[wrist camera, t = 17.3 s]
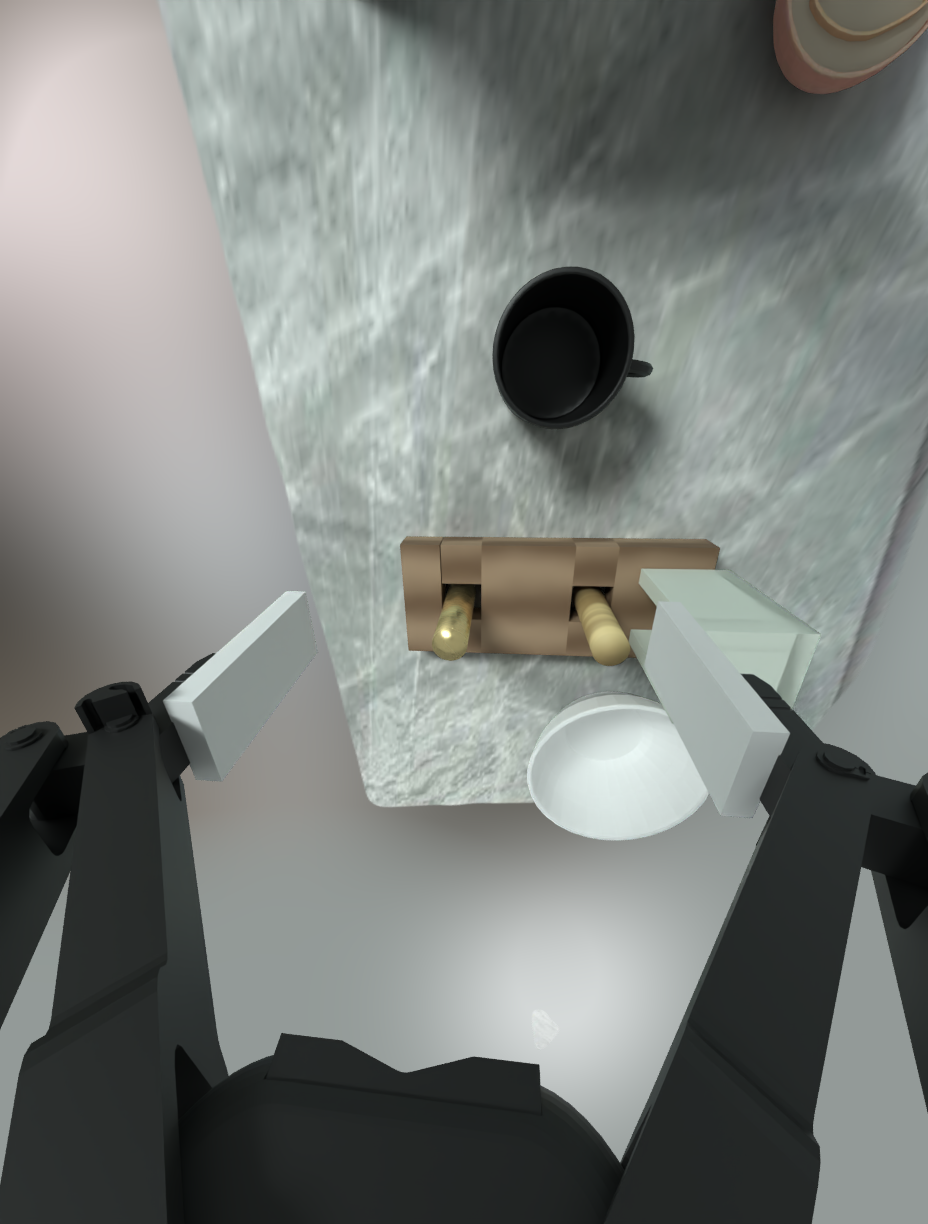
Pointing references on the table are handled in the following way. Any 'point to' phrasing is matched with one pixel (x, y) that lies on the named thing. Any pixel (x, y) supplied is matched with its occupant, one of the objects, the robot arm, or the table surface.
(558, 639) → the wooden slotted block
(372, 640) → the table surface
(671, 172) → the table surface
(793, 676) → the housing
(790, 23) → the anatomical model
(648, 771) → the bowl
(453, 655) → the pin
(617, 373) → the mug
